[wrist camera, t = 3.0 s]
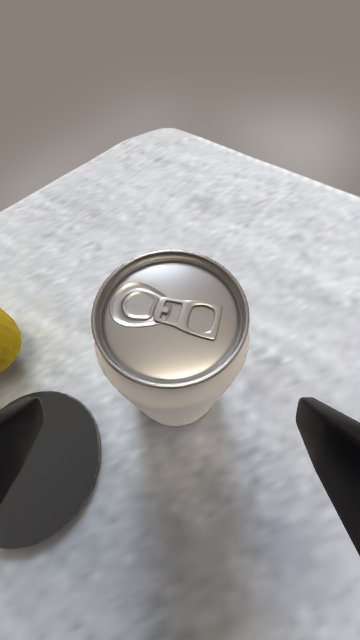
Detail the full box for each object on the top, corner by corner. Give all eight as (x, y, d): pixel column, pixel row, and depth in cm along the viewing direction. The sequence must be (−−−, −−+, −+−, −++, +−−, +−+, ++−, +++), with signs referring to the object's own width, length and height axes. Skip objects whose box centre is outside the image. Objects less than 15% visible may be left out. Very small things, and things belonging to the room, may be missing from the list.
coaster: (14, 589, 14) (8, 594, 13) (-62, 469, 16) (-68, 470, 16) (127, 449, 17) (126, 449, 17) (49, 368, 20) (46, 367, 19)
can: (150, 337, 21) (118, 228, 10) (222, 355, 20) (270, 258, 10) (123, 413, 18) (42, 372, 7) (207, 437, 17) (250, 430, 7)
